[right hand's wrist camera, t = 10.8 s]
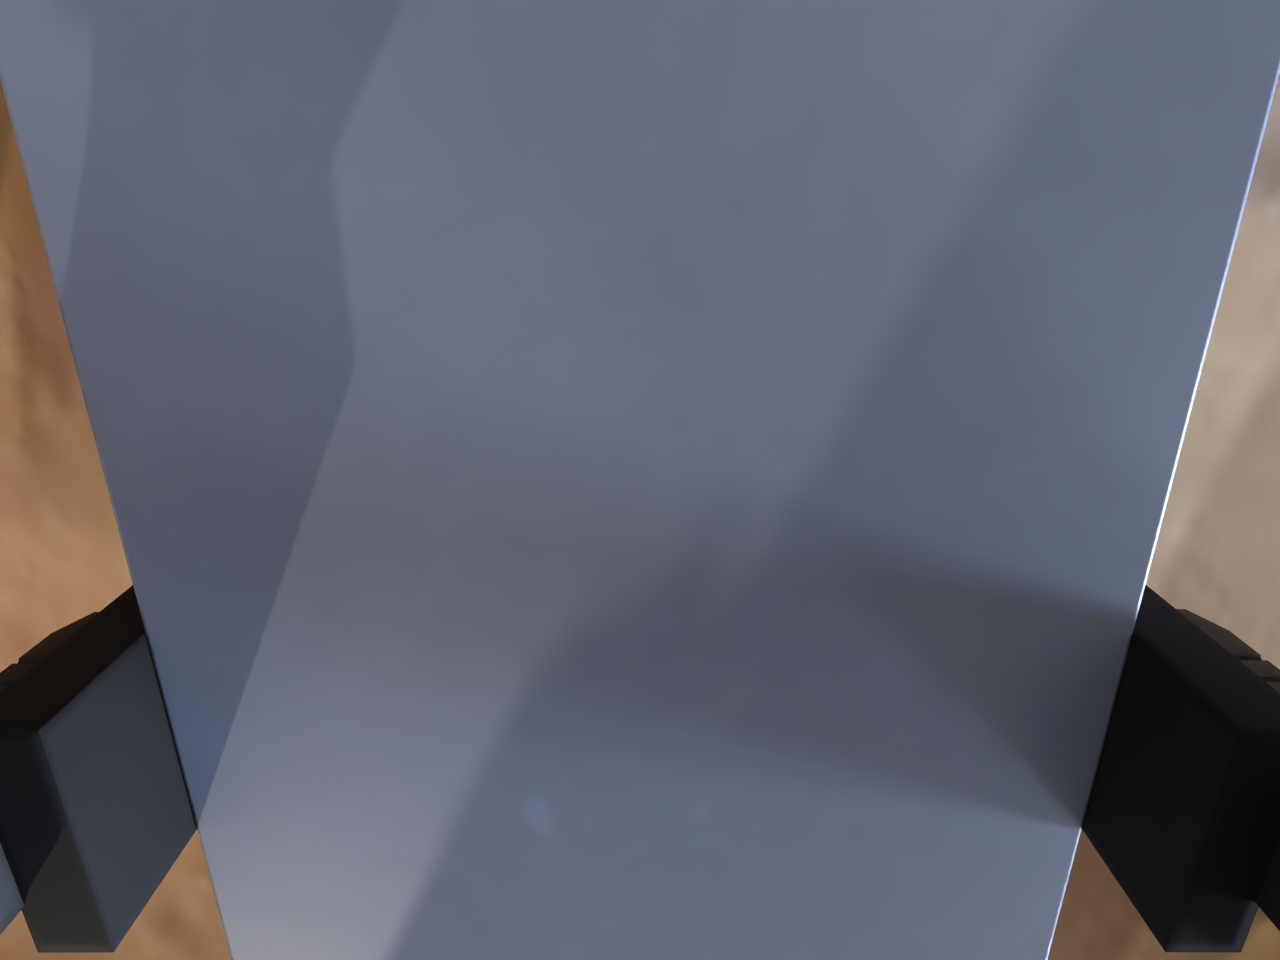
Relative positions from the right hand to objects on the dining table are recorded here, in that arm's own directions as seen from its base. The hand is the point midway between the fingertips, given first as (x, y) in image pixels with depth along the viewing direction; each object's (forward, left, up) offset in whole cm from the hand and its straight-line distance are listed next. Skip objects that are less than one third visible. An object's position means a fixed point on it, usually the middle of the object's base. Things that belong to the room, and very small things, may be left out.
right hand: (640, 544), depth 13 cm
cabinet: (+2, -4, -6) cm, 8 cm away
